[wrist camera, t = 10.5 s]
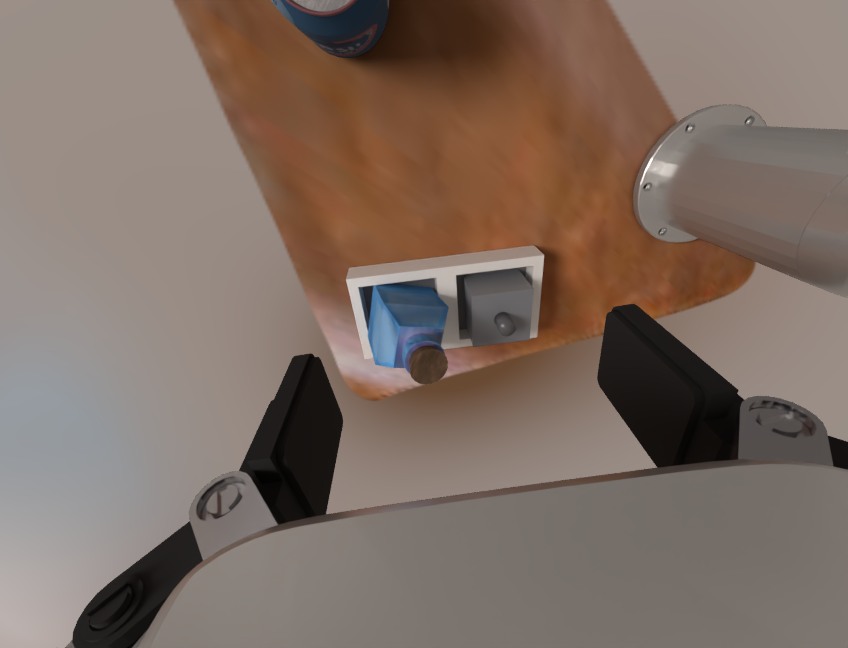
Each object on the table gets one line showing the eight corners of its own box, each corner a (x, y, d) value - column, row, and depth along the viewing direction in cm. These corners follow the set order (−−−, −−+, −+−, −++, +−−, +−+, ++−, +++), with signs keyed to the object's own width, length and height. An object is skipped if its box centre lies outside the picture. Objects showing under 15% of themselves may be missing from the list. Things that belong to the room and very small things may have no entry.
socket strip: (533, 245, 38) (544, 255, 35) (528, 323, 43) (537, 337, 40) (349, 267, 37) (346, 279, 35) (366, 344, 43) (364, 358, 40)
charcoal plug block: (517, 268, 38) (541, 298, 32) (515, 315, 41) (536, 350, 35) (462, 275, 38) (475, 306, 32) (464, 322, 41) (477, 358, 35)
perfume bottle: (373, 282, 36) (396, 330, 26) (430, 287, 38) (472, 333, 27) (367, 336, 38) (385, 400, 28) (421, 338, 40) (457, 399, 30)
